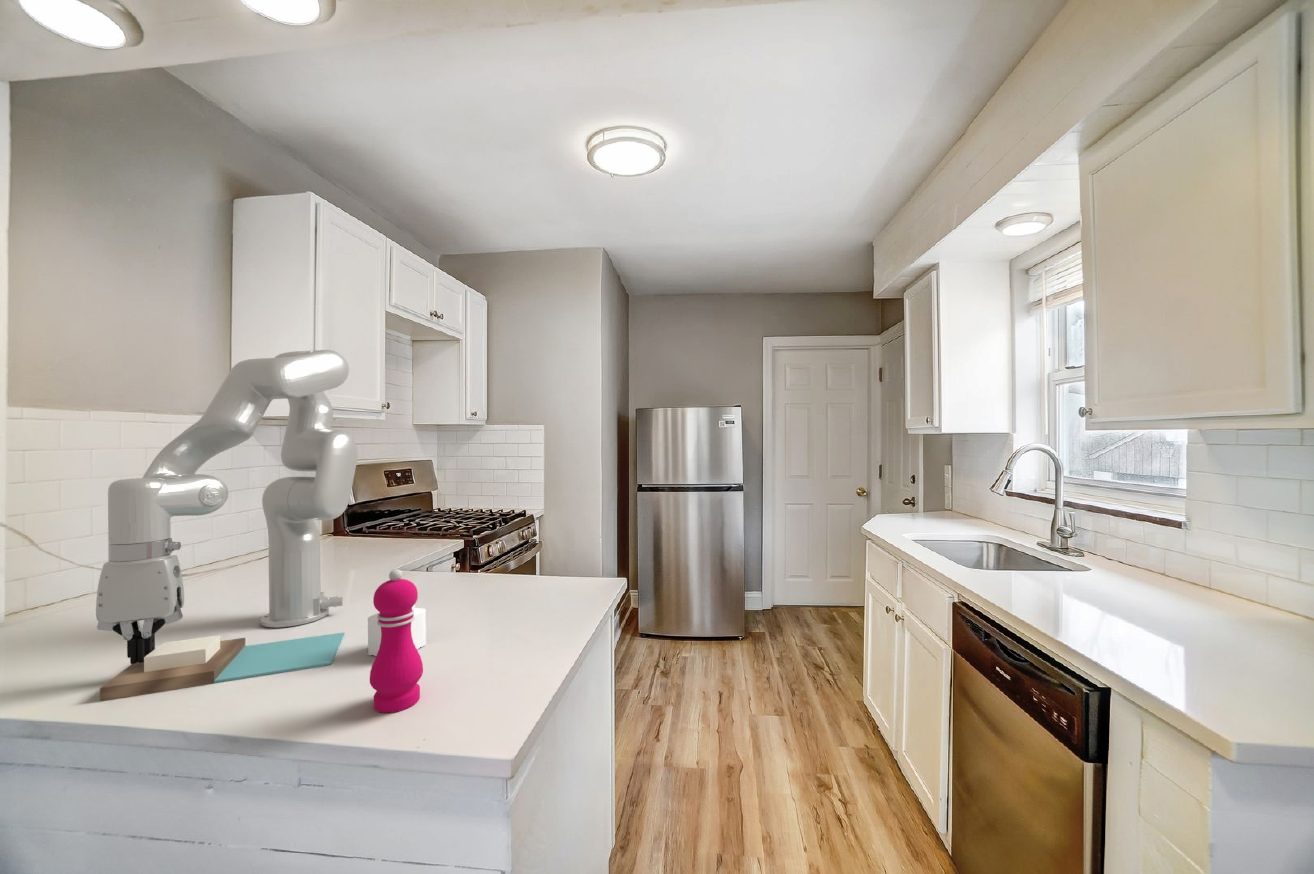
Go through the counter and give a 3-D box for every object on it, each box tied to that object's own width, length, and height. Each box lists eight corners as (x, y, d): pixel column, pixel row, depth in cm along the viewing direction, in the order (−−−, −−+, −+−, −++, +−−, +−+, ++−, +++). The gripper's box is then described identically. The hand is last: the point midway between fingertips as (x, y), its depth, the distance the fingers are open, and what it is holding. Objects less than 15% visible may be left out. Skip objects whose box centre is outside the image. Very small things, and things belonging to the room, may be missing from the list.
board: (245, 647, 101) (245, 637, 101) (214, 682, 87) (214, 670, 87) (150, 661, 96) (150, 650, 96) (100, 700, 81) (100, 687, 81)
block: (220, 648, 96) (220, 635, 96) (205, 663, 90) (205, 648, 90) (163, 656, 93) (163, 642, 93) (144, 672, 86) (143, 657, 86)
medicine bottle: (427, 645, 101) (426, 583, 101) (397, 660, 95) (396, 593, 95) (398, 641, 104) (397, 580, 104) (367, 655, 97) (366, 590, 97)
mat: (344, 634, 108) (344, 632, 108) (331, 664, 93) (331, 662, 93) (242, 648, 101) (242, 646, 101) (210, 683, 86) (210, 681, 86)
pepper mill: (382, 692, 83) (381, 564, 83) (430, 689, 83) (428, 562, 83) (360, 716, 75) (358, 576, 75) (413, 713, 76) (411, 574, 76)
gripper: (204, 543, 95) (205, 645, 95) (94, 551, 90) (95, 659, 90) (186, 551, 89) (187, 661, 88) (66, 560, 83) (67, 677, 83)
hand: (141, 659), depth 89 cm, fingers closed
